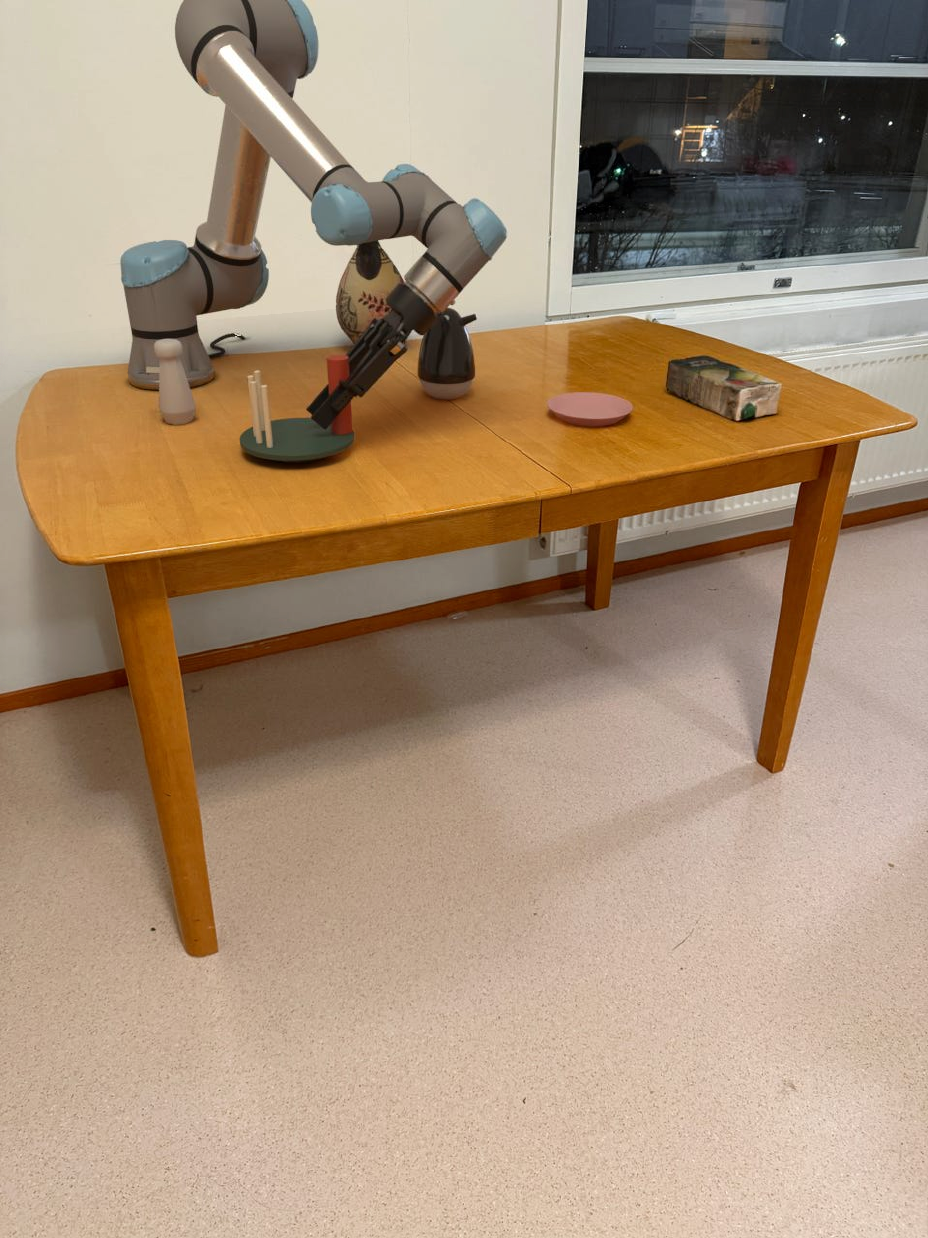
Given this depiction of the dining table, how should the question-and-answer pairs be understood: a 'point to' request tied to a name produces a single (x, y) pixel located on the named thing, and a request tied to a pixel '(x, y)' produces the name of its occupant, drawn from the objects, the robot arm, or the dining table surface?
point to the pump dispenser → (447, 357)
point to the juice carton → (723, 387)
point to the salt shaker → (173, 384)
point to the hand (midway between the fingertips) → (315, 419)
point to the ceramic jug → (365, 289)
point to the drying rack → (297, 424)
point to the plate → (589, 408)
